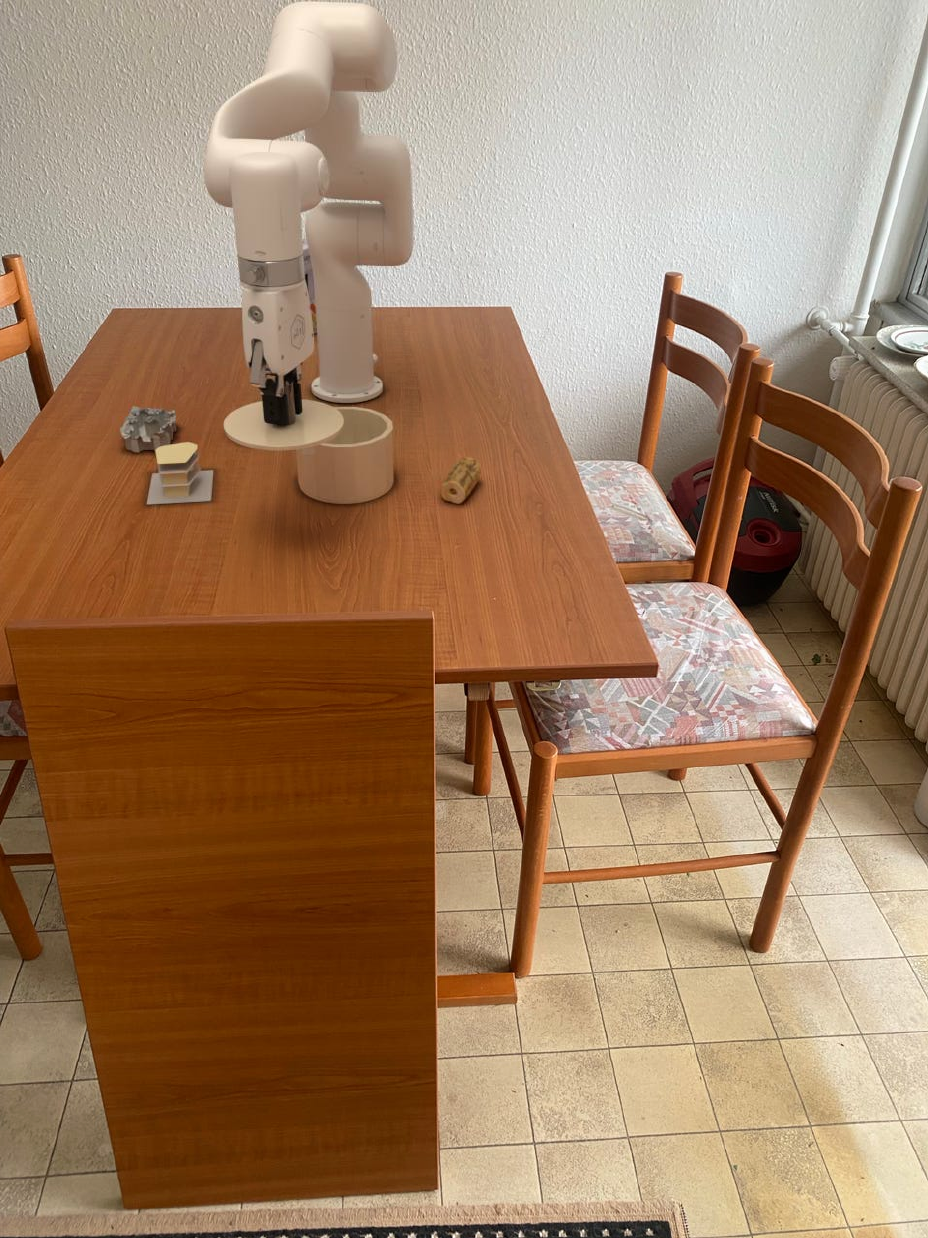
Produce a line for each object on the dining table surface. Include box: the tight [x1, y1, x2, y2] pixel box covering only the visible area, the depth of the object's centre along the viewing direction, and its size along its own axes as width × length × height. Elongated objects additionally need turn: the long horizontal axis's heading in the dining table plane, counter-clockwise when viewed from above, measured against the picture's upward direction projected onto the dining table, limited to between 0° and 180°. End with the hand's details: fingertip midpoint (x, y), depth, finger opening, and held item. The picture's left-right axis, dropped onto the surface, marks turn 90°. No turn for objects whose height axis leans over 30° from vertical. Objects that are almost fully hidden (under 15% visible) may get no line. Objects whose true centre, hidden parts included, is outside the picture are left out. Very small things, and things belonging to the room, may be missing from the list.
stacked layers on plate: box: [146, 441, 214, 505], centre depth 150 cm, size 10×9×6 cm
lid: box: [223, 378, 344, 452], centre depth 129 cm, size 15×15×6 cm
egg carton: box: [119, 405, 177, 454], centre depth 164 cm, size 11×8×4 cm
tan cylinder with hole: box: [440, 456, 482, 505], centre depth 151 cm, size 8×4×4 cm, turn 162°
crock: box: [295, 406, 395, 505], centre depth 152 cm, size 14×14×9 cm
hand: (283, 416), depth 130 cm, fingers closed on lid, 3 cm apart
